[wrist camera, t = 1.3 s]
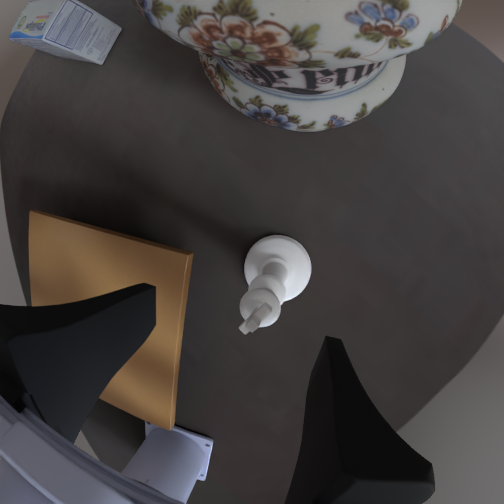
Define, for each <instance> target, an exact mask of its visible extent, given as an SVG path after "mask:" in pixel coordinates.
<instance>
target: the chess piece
mask: <svg viewBox="0 0 504 504" xmlns="http://www.w3.org/2000/svg"><path fill="white" fill-rule="evenodd" d="M244 273H245V278H246V281H247V283H248V285H249V288H248V292H247V293H245V294H244V296H243V297H242V299H241V301H240V312H241V315H242V317H243V318H244V319H245V321H244V322H243V323H242V324H241V325H240V326H239V329H240V330H241V331H242V332H243V333H244V334H245V335H246V334H247V333H248V332H249V331H251V332H254V331H255V330H256V329H257V328H258V327H266V326H269V325H271V324H273V323H274V322H275V321H276V320H277V319H278V317H279V315H280V311H281V306H280V305H281V304H282V303H283V302H284V301H287V300H290V299H292V298H294V297H296V296H297V295H298V294H300V293H301V292H302V291H303V289H304V288H305V287H306V285H307V283H308V281H309V279H310V275H311V262H310V258H309V255H308V253H307V252H306V250H305V249H304V247H303V246H302V245H301V244H300V243H299V242H297V241H296V240H294V239H292V238H290V237H287V236H282V235H272V236H268V237H265V238H262V239H261V240H259V241H258V242H256V243H255V244H254V245H253V246H252V247H251V249H250V250H249V252H248V254H247V256H246V260H245V264H244Z"/></svg>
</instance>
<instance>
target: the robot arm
mask: <svg viewBox="0 0 504 504" xmlns="http://www.w3.org/2000/svg"><path fill="white" fill-rule="evenodd" d="M155 326H156V286H153V285H150V284H148V283H140V284H136V285H132V286H129V287H126V288H123V289H119V290H116V291H113V292H110V293H106V294H103V295H100V296H96V297H92V298H88V299H85V300H80V301H76V302H71V303H65V304H58V305H47V306H11V305H2V304H0V458H1V460H0V504H186V502H187V499H188V497H189V495H190V493H191V491H192V489H193V487H194V484H195V482H196V480H197V479H198V480H202V481H204V480H205V478H206V474H207V469H208V464H209V460H210V455H211V450H212V446H213V440H212V439H210V438H208V437H205V436H202V435H199V434H196V433H193V432H190V431H188V430H185V429H182V428H179V427H177V426H174V427H173V428H172V430H171V431H169V430H166V429H164V428H161V427H159V426H157V425H154V424H152V423H150V422H147V421H145V432H146V439H145V440H144V442H143V443H142V445H141V446H140V447H139V449H138V450H137V452H136V453H135V455H134V456H133V457H132V459H131V460H130V462H129V463H128V464H127V466H126V467H125V469H124V470H123V471H122V473H119V472H117V471H116V470H114V469H112V468H110V467H109V466H107V465H105V464H103V463H102V462H100V461H99V460H97V459H95V458H94V457H92V456H91V455H89V454H87V453H86V452H84V451H83V450H81V449H80V448H78V447H77V446H75V445H74V442H75V440H76V438H77V436H78V433H79V432H80V430H81V428H82V426H83V424H84V422H85V420H86V418H87V416H88V415H89V413H90V411H91V409H92V408H93V406H94V405H95V403H96V401H97V400H98V398H99V397H100V395H101V394H102V392H103V391H104V389H105V388H106V386H107V385H108V383H109V382H110V381H111V379H112V378H113V377H114V376H115V374H116V373H117V372H118V371H119V370H120V369H121V368H122V367H123V366H124V364H125V363H126V362H127V361H128V360H129V359H130V358H131V357H132V356H133V355H134V354H135V352H136V351H137V350H138V349H139V348H140V347H141V346H142V345H143V344H144V342H145V341H146V340H147V338H148V337H149V335H150V334H151V332H152V331H153V329H154V328H155ZM434 491H435V481H434V473H433V467H432V463H430V462H429V461H428V460H426V459H425V458H424V457H422V456H421V455H420V454H419V453H417V452H416V451H415V450H414V449H412V448H411V447H410V446H409V445H408V444H407V443H406V442H405V441H404V440H403V439H402V438H401V437H400V436H399V435H398V434H397V433H396V432H395V431H394V430H393V429H392V427H391V426H390V425H389V424H388V423H387V422H386V420H385V419H384V418H383V417H382V415H381V414H380V413H379V411H378V410H377V409H376V407H375V406H374V404H373V403H372V401H371V400H370V398H369V397H368V395H367V393H366V392H365V390H364V388H363V386H362V384H361V383H360V381H359V379H358V377H357V375H356V372H355V370H354V368H353V366H352V364H351V362H350V359H349V357H348V355H347V352H346V350H345V347H344V345H343V342H342V341H341V339H338V338H333V337H329V336H326V337H325V339H324V342H323V345H322V347H321V350H320V352H319V355H318V358H317V360H316V363H315V365H314V367H313V370H312V372H311V376H310V381H309V386H308V390H307V396H306V406H305V416H304V425H303V434H302V442H301V447H300V452H299V456H298V460H297V464H296V467H295V471H294V475H293V478H292V482H291V485H290V488H289V491H288V495H287V498H286V501H285V504H422V503H424V502H425V501H426V500H428V499H429V498H430V497H431V496H432V494H433V493H434Z"/></svg>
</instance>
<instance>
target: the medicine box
mask: <svg viewBox="0 0 504 504" xmlns="http://www.w3.org/2000/svg"><path fill="white" fill-rule="evenodd" d="M121 30H122V28H121V27H120V26H118V25H117V24H115V23H113V22H112V21H110V20H109V19H107V18H106V17H104V16H103V15H101V14H99V13H98V12H96V11H94V10H93V9H91V8H89V7H88V6H86V5H85V4H83V3H81V2H79V1H78V0H37V1H31V2H29V3H28V4H27V6H26V7H25V8H24V10H23V12H22V13H21V15H20V16H19V18H18V20H17V22H16V24H15V26H14V28H13V29H12V32H11V34H10V37H9V40H12V41H14V42H17V43H20V44H23V45H26V46H29V47H32V48H35V49H38V50H41V51H43V52H46V53H49V54H52V55H54V56H57V57H60V58H67V59H73V60H79V61H85V62H91V63H96V64H99V65H102V64H103V63H104V61H105V59H106V57H107V55H108V53H109V51H110V50H111V48H112V46H113V44H114V42H115V40H116V39H117V37H118V35H119V33H120V32H121Z"/></svg>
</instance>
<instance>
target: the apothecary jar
mask: <svg viewBox="0 0 504 504" xmlns="http://www.w3.org/2000/svg"><path fill="white" fill-rule="evenodd" d="M133 2H134V4H135V5H136V7H137V9H138V11H139V12H140V13H141V14H142V15H143V16H144V17H145V18H146V19H147V20H148V21H149V22H150V23H151V24H152V25H153V26H155V27H156V28H157V29H158V30H160V31H161V32H163V33H164V34H166V35H167V36H169V37H170V38H172V39H174V40H176V41H177V42H179V43H181V44H183V45H185V46H188V47H190V48H192V49H195V50H198V51H199V57H200V61H201V64H202V67H203V70H204V72H205V74H206V76H207V78H208V80H209V82H210V83H211V85H212V86H213V87H214V89H215V90H216V91H217V92H218V93H219V94H220V96H221V97H222V98H224V99H225V100H226V101H227V102H228V103H229V104H230V105H232V106H233V107H234V108H236V109H237V110H239V111H240V112H242V113H243V114H245V115H247V116H248V117H250V118H252V119H255V120H257V121H259V122H262V123H264V124H267V125H270V126H274V127H278V128H283V129H289V130H294V131H303V132H313V131H322V130H326V129H332V128H337V127H341V126H344V125H347V124H350V123H353V122H355V121H358V120H360V119H362V118H363V117H365V116H367V115H369V114H370V113H372V112H373V111H375V110H376V109H377V108H379V107H380V106H381V105H382V104H383V103H384V102H385V101H386V100H387V99H388V98H389V97H390V96H391V95H392V94H393V92H394V91H395V89H396V88H397V86H398V84H399V82H400V80H401V77H402V75H403V71H404V67H405V61H406V54H408V53H410V52H413V51H415V50H417V49H419V48H421V47H423V46H425V45H426V44H428V43H429V42H431V41H432V40H434V39H435V38H437V37H438V36H439V35H440V34H441V33H442V32H443V31H444V30H445V29H446V28H447V27H448V26H449V25H450V24H451V23H452V21H453V20H454V18H455V16H456V15H457V12H458V11H459V8H460V6H461V3H462V0H133Z"/></svg>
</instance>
